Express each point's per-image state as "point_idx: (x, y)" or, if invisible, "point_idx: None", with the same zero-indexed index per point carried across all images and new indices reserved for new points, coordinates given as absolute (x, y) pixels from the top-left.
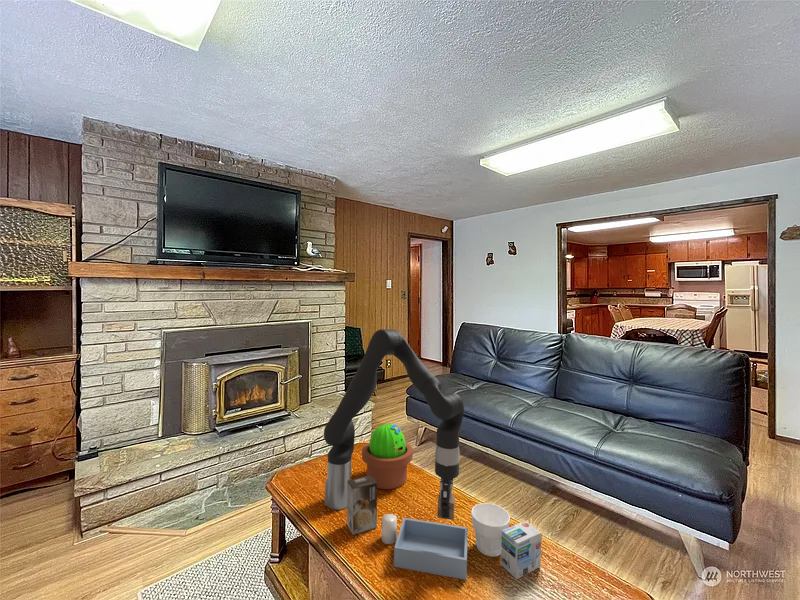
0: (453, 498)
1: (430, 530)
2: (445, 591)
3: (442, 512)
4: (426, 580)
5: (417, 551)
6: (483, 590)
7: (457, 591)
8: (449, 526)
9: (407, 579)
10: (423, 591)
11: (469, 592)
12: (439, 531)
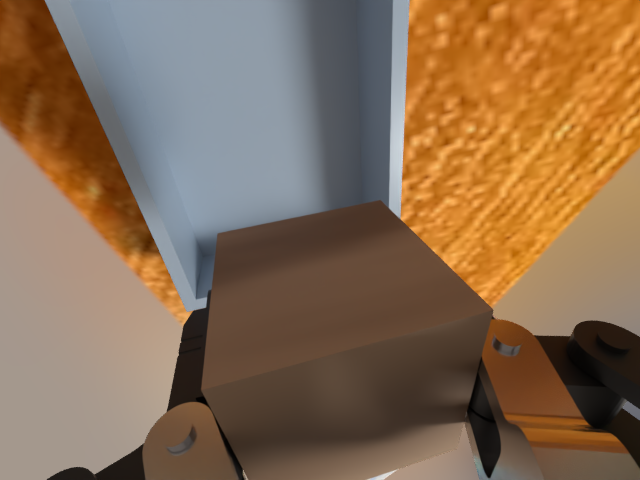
0: (377, 469)
1: (374, 67)
2: (90, 211)
3: (206, 332)
4: (89, 118)
5: (66, 46)
6: (183, 311)
7: (123, 248)
8: (388, 187)
9: (15, 7)
10: (12, 122)
11: (147, 281)
12: (374, 124)
